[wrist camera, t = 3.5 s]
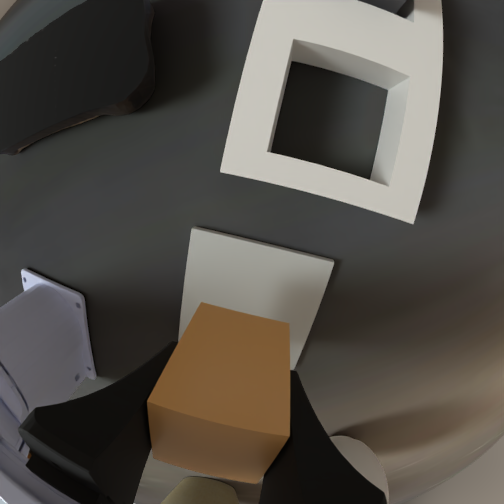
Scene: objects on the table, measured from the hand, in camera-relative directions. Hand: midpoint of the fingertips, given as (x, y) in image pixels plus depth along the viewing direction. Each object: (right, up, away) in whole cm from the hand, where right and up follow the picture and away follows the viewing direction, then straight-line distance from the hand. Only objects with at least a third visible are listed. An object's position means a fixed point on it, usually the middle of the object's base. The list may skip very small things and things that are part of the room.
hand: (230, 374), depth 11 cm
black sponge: (-12, +17, +3) cm, 21 cm away
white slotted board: (+7, +19, -1) cm, 20 cm away
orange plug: (0, +1, +2) cm, 2 cm away
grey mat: (+1, +2, +6) cm, 6 cm away
